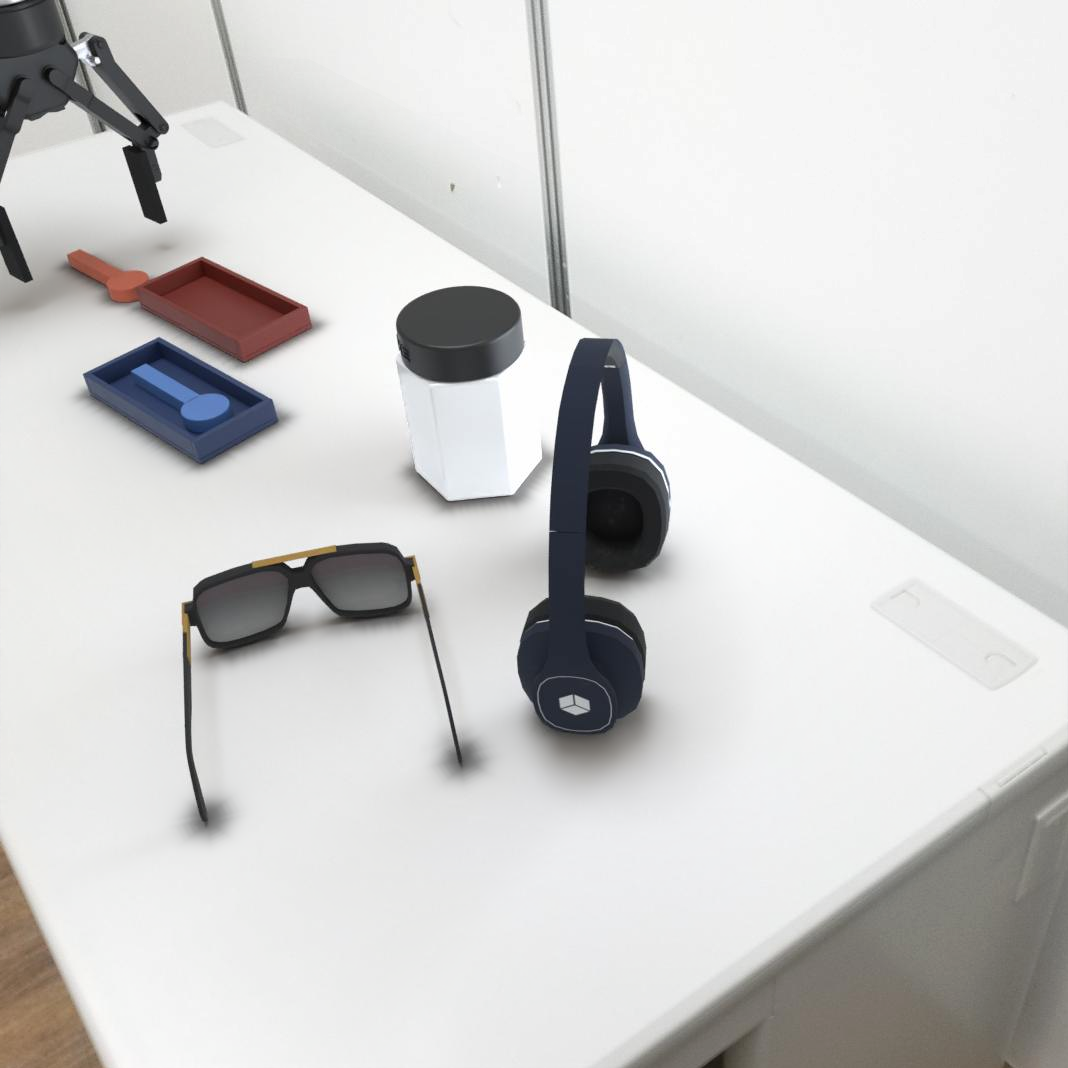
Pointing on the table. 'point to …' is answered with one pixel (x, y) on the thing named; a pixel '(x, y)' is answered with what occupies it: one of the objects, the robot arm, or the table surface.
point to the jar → (468, 391)
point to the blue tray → (166, 421)
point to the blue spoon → (185, 400)
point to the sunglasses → (266, 595)
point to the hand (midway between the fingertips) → (91, 247)
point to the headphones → (594, 552)
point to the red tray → (224, 308)
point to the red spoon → (109, 275)
